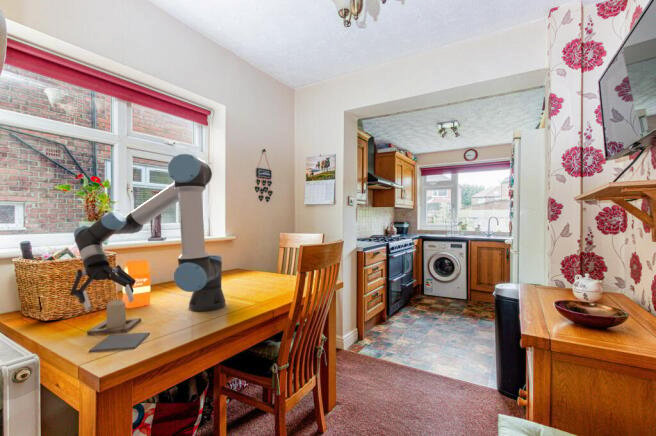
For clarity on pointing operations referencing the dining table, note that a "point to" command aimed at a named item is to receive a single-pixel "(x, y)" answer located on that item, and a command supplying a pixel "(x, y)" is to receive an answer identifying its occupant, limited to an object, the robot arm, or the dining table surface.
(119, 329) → the grey square frame
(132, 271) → the orange juice
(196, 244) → the robot arm
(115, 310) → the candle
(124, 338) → the charcoal mat
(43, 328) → the dining table surface
